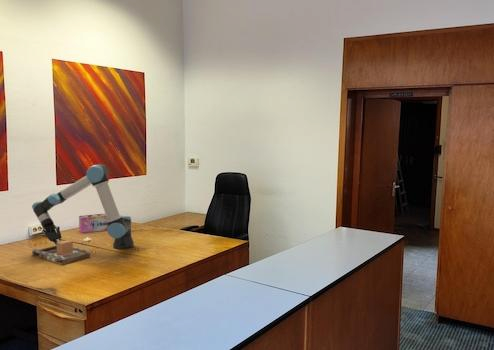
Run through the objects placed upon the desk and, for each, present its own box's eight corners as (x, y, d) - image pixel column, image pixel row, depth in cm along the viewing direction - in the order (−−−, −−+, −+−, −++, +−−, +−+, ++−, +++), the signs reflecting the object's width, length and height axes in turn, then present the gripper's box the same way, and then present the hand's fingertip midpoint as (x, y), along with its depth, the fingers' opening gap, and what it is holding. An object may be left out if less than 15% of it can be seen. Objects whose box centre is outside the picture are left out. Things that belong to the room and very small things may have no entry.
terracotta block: (72, 252, 295) (72, 241, 294) (62, 255, 288) (61, 243, 287) (67, 251, 298) (67, 239, 297) (57, 253, 291) (56, 242, 291)
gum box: (107, 228, 383) (106, 213, 382) (109, 229, 377) (109, 214, 375) (79, 231, 370) (78, 215, 368) (81, 233, 363) (80, 217, 362)
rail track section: (89, 257, 295) (89, 250, 294) (63, 264, 278) (63, 257, 278) (58, 249, 314) (58, 243, 313) (32, 255, 297) (32, 249, 297)
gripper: (52, 222, 310) (67, 249, 302) (35, 226, 299) (50, 253, 291) (56, 216, 306) (71, 242, 299) (39, 219, 295) (54, 246, 288)
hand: (61, 248), depth 295 cm, fingers closed
